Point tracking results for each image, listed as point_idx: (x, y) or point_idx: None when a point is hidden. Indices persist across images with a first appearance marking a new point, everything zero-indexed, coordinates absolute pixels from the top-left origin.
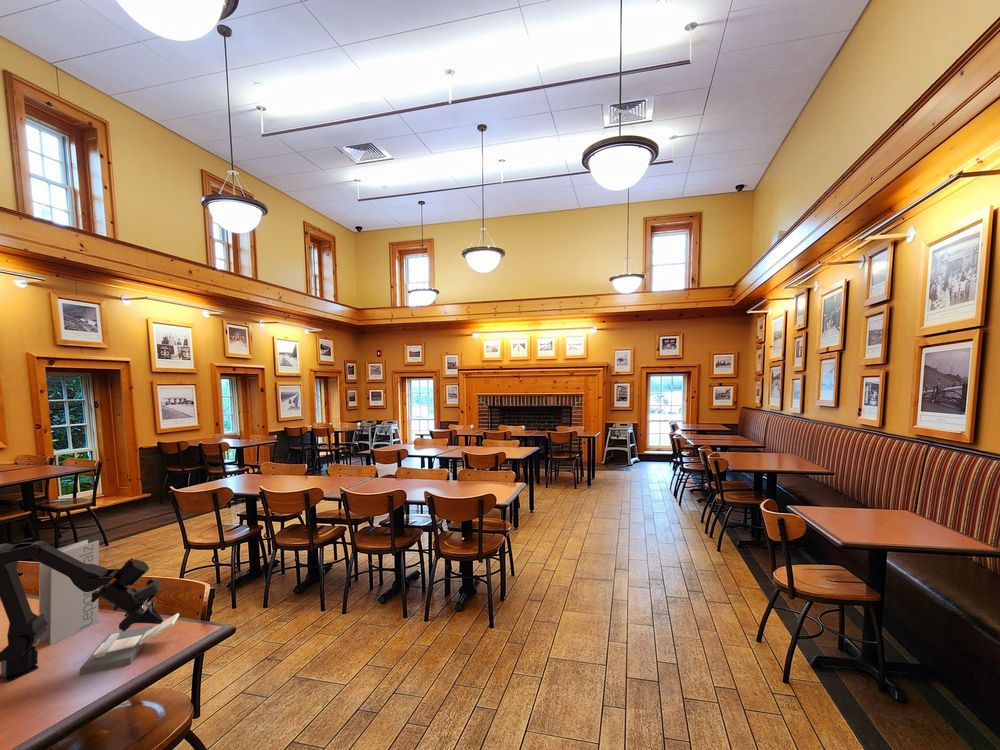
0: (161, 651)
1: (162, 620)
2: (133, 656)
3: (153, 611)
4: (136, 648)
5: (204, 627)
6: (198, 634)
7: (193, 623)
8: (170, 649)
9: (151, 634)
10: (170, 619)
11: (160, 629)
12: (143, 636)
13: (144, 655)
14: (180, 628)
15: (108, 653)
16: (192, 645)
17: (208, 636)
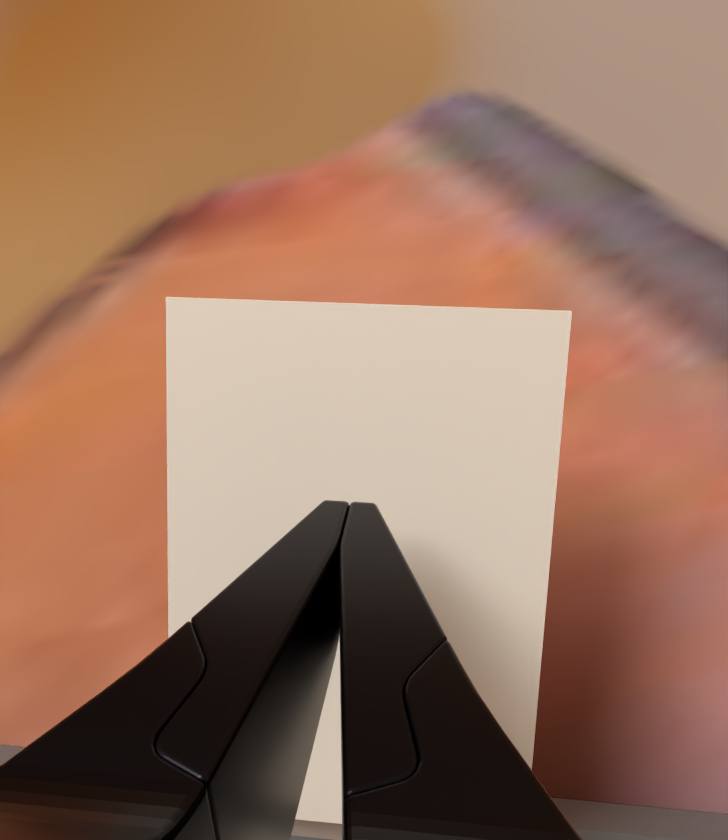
0: (605, 515)
1: (365, 506)
2: (697, 824)
3: (246, 754)
4: (592, 833)
5: (268, 214)
6: (393, 239)
7: (99, 321)
8: (599, 432)
9: (499, 664)
10: (297, 404)
11: (541, 517)
12: (335, 809)
13: (622, 690)
14: (133, 425)
15: None
16: (607, 252)
17: (486, 157)
